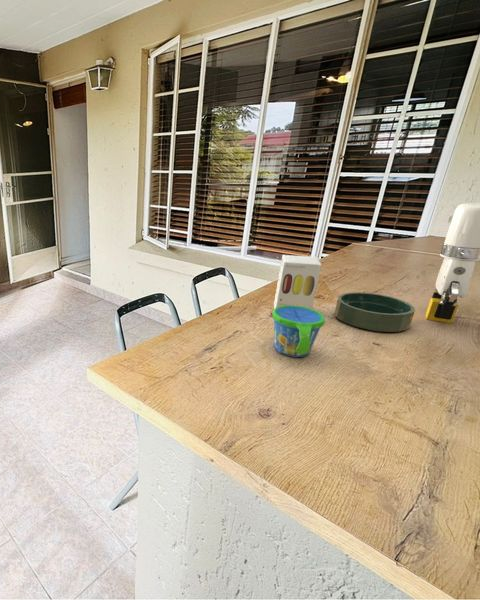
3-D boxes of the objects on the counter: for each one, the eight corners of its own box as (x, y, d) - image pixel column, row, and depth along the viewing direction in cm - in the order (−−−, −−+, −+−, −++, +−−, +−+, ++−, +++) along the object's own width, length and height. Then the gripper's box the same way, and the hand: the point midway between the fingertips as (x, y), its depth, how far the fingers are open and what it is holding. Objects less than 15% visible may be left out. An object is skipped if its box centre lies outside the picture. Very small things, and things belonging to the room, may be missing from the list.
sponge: (449, 319, 97) (456, 300, 95) (451, 323, 95) (458, 304, 93) (425, 315, 100) (431, 297, 98) (426, 319, 98) (432, 301, 96)
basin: (406, 316, 100) (412, 298, 98) (410, 339, 88) (417, 319, 86) (336, 305, 110) (340, 288, 108) (331, 324, 98) (335, 306, 96)
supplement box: (273, 315, 106) (282, 261, 100) (272, 304, 113) (280, 254, 107) (311, 319, 102) (322, 264, 96) (307, 307, 109) (317, 255, 103)
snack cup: (322, 371, 78) (332, 330, 74) (269, 363, 82) (276, 324, 78) (310, 339, 91) (318, 303, 87) (265, 334, 95) (270, 299, 91)
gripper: (490, 261, 82) (464, 326, 88) (475, 246, 95) (453, 304, 101) (446, 257, 87) (424, 320, 93) (437, 243, 99) (418, 299, 105)
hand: (439, 312), depth 97 cm, fingers open, 9 cm apart
